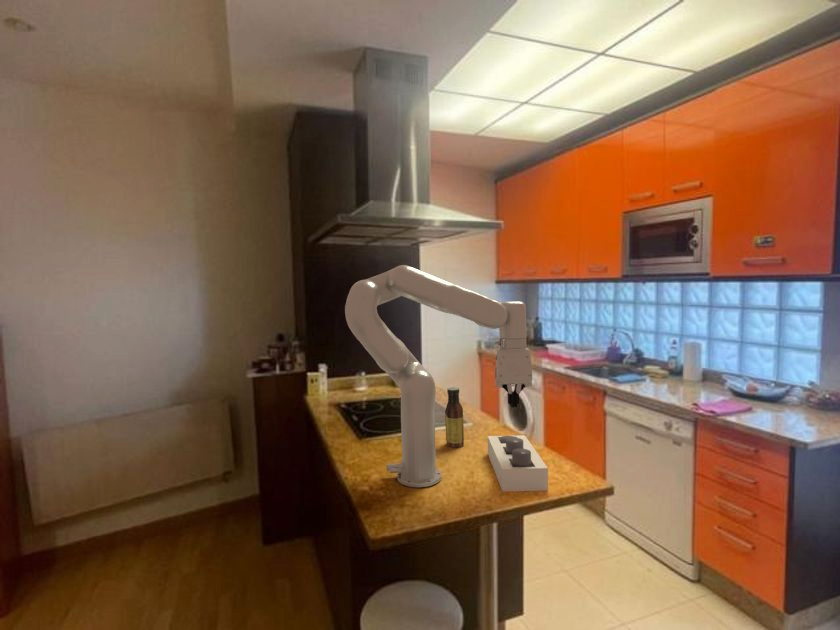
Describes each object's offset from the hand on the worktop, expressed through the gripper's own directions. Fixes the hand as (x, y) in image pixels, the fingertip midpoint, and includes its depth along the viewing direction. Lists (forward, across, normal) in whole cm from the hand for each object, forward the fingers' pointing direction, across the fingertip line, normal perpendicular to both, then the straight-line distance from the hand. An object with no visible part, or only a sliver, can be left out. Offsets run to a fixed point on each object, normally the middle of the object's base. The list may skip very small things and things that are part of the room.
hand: (513, 406), depth 127 cm
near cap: (+15, 0, -10) cm, 18 cm away
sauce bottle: (+19, -15, +22) cm, 33 cm away
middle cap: (+15, 0, -1) cm, 16 cm away
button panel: (+19, 0, -1) cm, 19 cm away
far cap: (+18, 0, +8) cm, 20 cm away
